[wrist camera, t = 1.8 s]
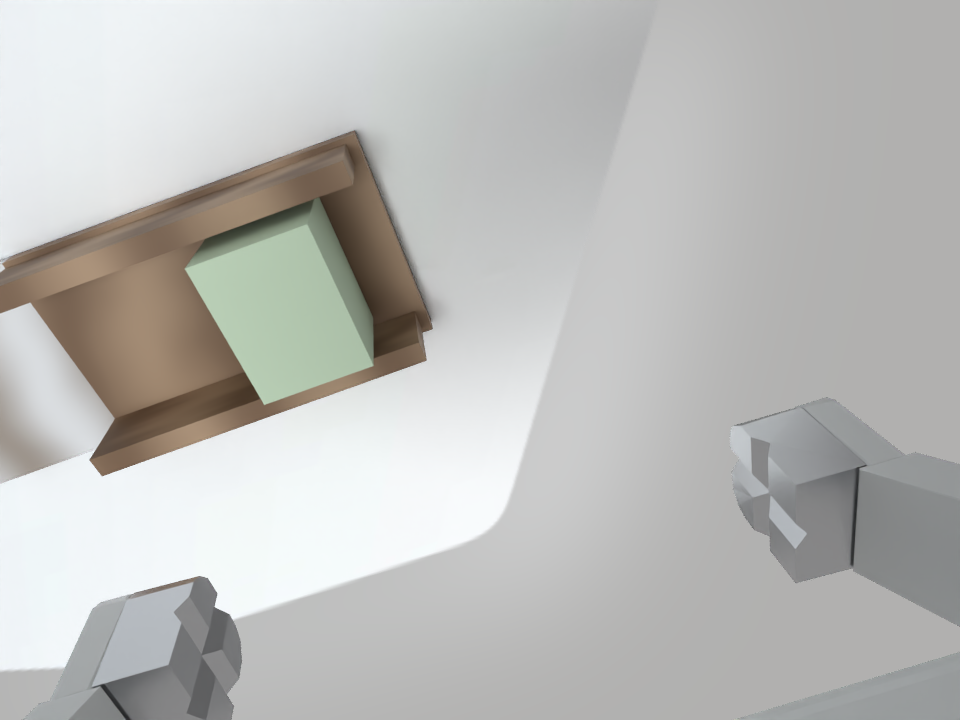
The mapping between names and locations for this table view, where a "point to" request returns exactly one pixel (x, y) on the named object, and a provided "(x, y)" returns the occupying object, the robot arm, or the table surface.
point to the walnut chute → (176, 318)
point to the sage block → (286, 301)
